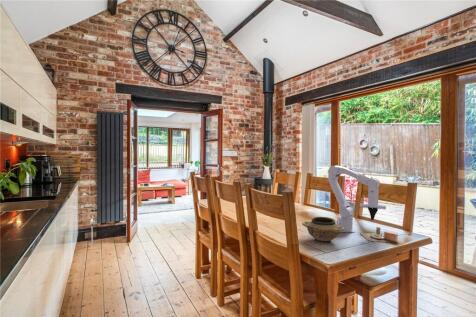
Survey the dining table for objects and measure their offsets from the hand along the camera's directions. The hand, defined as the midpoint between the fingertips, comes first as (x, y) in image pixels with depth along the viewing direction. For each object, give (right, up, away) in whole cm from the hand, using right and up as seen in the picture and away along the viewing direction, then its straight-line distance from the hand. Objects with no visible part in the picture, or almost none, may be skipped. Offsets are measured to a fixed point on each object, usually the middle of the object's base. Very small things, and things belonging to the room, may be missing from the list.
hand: (372, 219), depth 171 cm
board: (+2, -10, -3) cm, 11 cm away
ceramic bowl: (-34, -11, -10) cm, 37 cm away
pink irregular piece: (+4, -10, -6) cm, 12 cm away
